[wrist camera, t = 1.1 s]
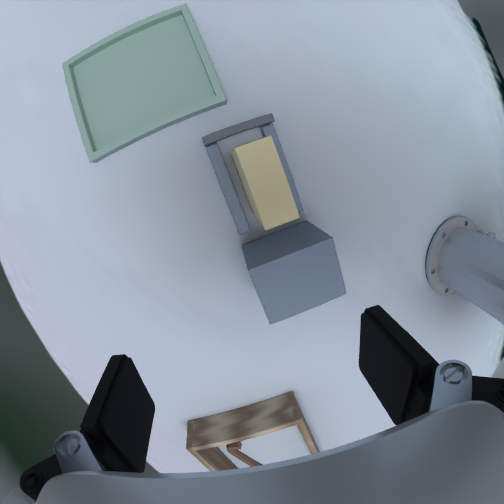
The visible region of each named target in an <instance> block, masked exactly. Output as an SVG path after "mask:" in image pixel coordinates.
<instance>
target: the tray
mask: <svg viewBox="0 0 504 504" xmlns="http://www.w3.org/2000/svg"><path fill="white" fill-rule="evenodd" d="M62 65H63V70H64V75H65V79H66V83H67V87H68V92H69V95H70V99H71V103H72V107H73V111H74V114H75V118H76V121H77V124H78V128H79V131H80V134H81V137H82V141H83V144H84V147H85V150H86V153H87V156H88V159H89V161H90V162H98V161H100V160H101V159H103V158H105V157H107V156H109V155H110V154H112V153H114V152H116V151H118V150H120V149H122V148H124V147H126V146H128V145H130V144H132V143H134V142H136V141H138V140H140V139H142V138H144V137H146V136H148V135H150V134H152V133H155V132H157V131H159V130H161V129H163V128H166V127H168V126H170V125H173V124H175V123H177V122H180V121H182V120H184V119H187V118H189V117H192V116H194V115H197V114H200V113H202V112H205V111H207V110H210V109H213V108H216V107H218V106H221V105H224V104H226V102H227V100H226V97H225V95H224V92H223V90H222V87H221V85H220V82H219V80H218V77H217V75H216V72H215V70H214V67H213V65H212V63H211V60H210V58H209V55H208V53H207V51H206V48H205V46H204V43H203V41H202V39H201V36H200V34H199V32H198V29H197V27H196V25H195V22H194V20H193V18H192V15H191V13H190V11H189V9H188V6H187V4H183V5H180V6H177V7H174V8H171V9H169V10H166V11H163V12H161V13H158V14H156V15H153V16H151V17H148V18H146V19H143V20H141V21H139V22H137V23H134V24H132V25H130V26H128V27H126V28H124V29H122V30H120V31H118V32H116V33H114V34H112V35H110V36H108V37H106V38H104V39H102V40H100V41H99V42H97V43H95V44H93V45H92V46H90V47H88V48H86V49H85V50H83V51H82V52H80V53H78V54H77V55H75V56H73V57H72V58H70V59H69V60H67V61H66V62H64V63H63V64H62Z"/></svg>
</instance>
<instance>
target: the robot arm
mask: <svg viewBox="0 0 504 504" xmlns="http://www.w3.org/2000/svg"><path fill="white" fill-rule="evenodd" d="M426 274H427V279H428V282H429V284H430V286H431V287H432V288H433V289H434V290H435V291H437V292H438V293H440V294H443V295H449V294H452V293H455V292H457V293H458V294H460V295H461V296H463V297H464V298H466V299H467V300H469V301H470V302H472V303H473V304H475V305H476V306H478V307H479V308H481V309H482V310H484V311H485V312H487V313H488V314H489V315H491V316H492V317H494V318H495V319H497V320H498V321H499V322H501V323H502V324H504V243H503V242H501V241H498V240H496V239H495V234H494V233H493V232H490V233H488V234H487V235H485V234H482V233H480V232H478V231H477V228H476V226H475V224H474V223H473V222H472V221H471V220H469V219H468V218H465V217H461V216H456V217H452V218H450V219H448V220H447V221H446V222H445V223H443V224H442V226H441V227H440V228H439V229H438V231H437V232H436V234H435V235H434V237H433V240H432V242H431V244H430V247H429V250H428V255H427V261H426ZM359 368H360V370H361V372H362V374H363V375H364V377H365V378H366V380H367V382H368V383H369V385H370V386H371V388H372V389H373V391H374V392H375V394H376V396H377V397H378V399H379V400H380V402H381V403H382V405H383V407H384V408H385V410H386V411H387V413H388V415H389V416H390V418H391V419H392V421H393V423H394V424H395V425H397V426H395V427H392V428H390V429H387V430H385V431H382V432H379V433H377V434H374V435H371V436H369V437H366V438H363V439H361V440H358V441H355V442H352V443H349V444H346V445H343V446H340V447H336V448H333V449H330V450H326V451H323V452H319V453H315V454H312V455H308V456H304V457H299V458H295V459H291V460H286V461H281V462H276V463H271V464H266V465H260V466H253V467H247V468H239V469H231V470H222V471H211V472H196V473H143V472H144V469H145V463H146V457H147V451H148V445H149V439H150V434H151V428H152V423H153V418H154V413H155V405H154V402H153V400H152V398H151V396H150V394H149V393H148V391H147V389H146V387H145V385H144V383H143V381H142V379H141V377H140V375H139V373H138V371H137V369H136V367H135V365H134V363H133V361H132V359H131V358H130V357H127V356H126V355H125V354H123V355H113V356H112V357H111V358H110V360H109V362H108V364H107V367H106V369H105V371H104V373H103V375H102V377H101V379H100V382H99V384H98V386H97V388H96V391H95V393H94V395H93V397H92V400H91V402H90V404H89V407H88V409H87V411H86V414H85V416H84V419H83V421H82V423H81V426H80V427H81V430H80V433H79V432H78V431H68V432H65V433H63V434H61V435H60V436H59V437H58V438H57V439H56V441H55V443H54V452H55V454H54V455H52V456H51V457H49V458H47V459H45V460H44V461H42V462H40V463H38V464H36V465H34V466H33V467H31V468H29V469H27V470H26V471H25V472H24V473H23V474H22V476H21V478H20V487H21V488H20V489H19V488H18V487H16V488H15V489H14V490H13V491H12V492H11V493H9V495H7V497H5V498H4V499H3V500H2V501H1V502H0V504H504V379H500V378H490V377H480V376H472V372H471V369H470V368H469V366H468V365H467V364H465V363H464V362H461V361H458V360H448V361H444V362H443V363H441V364H440V365H439V363H438V362H437V361H436V360H435V359H434V358H433V357H432V356H431V355H430V354H429V353H428V352H427V351H426V350H425V349H424V348H423V347H422V346H421V345H420V344H419V343H418V342H417V341H416V340H415V339H414V338H413V337H412V336H411V335H410V334H409V333H408V332H407V331H405V330H404V329H403V328H402V327H401V326H400V325H399V324H398V323H397V322H396V321H395V320H394V319H393V318H392V317H391V316H390V315H389V314H388V313H387V312H386V311H385V310H384V309H383V308H382V307H380V306H379V305H376V306H373V307H370V308H366V309H365V311H364V313H362V314H361V330H360V352H359Z"/></svg>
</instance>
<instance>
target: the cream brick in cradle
mask: <svg viewBox="0 0 504 504" xmlns="http://www.w3.org/2000/svg"><path fill="white" fill-rule="evenodd" d="M231 156H232V158H233V161H234V164H235V166H236V169H237V172H238V174H239V177H240V180H241V182H242V185H243V188H244V190H245V193H246V195H247V198H248V201H249V203H250V206H251V209H252V212H253V214H254V215H255V216H256V218H257V219H258V221H259V222H260V224H261V225H262V226H263V228H264V229H265V231H266V230H268V229H271V228H274V227H276V226H279V225H281V224H284V223H287V222H289V221H292V220H295V219H297V218H300V217H299V213H298V210H297V207H296V204H295V201H294V198H293V195H292V192H291V189H290V187H289V184H288V181H287V178H286V175H285V172H284V169H283V167H282V164H281V161H280V158H279V155H278V153H277V150H276V147H275V144H274V142H273V139H272V136H268V137H265V138H262V139H259V140H256V141H253V142H250V143H247V144H244V145H242V146H239V147H236V148H234V150H233V151H232V153H231Z"/></svg>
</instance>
